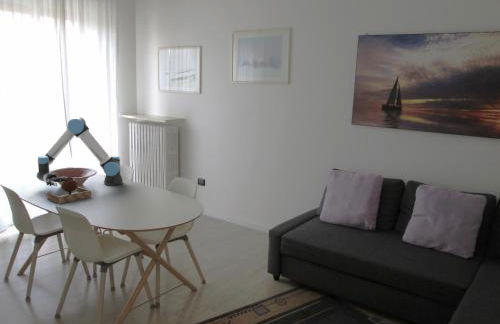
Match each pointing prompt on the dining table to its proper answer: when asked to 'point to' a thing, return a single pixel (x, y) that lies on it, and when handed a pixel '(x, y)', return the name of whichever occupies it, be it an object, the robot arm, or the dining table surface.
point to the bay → (70, 196)
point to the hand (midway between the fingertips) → (65, 183)
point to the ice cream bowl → (69, 185)
